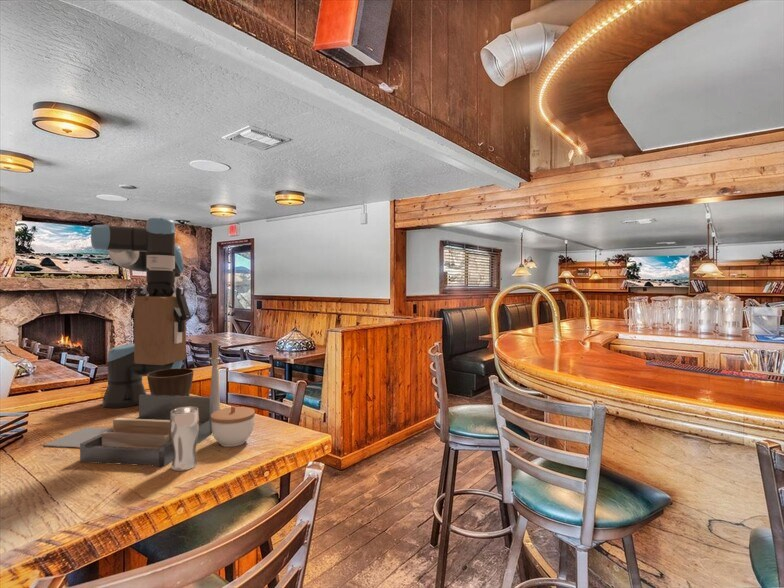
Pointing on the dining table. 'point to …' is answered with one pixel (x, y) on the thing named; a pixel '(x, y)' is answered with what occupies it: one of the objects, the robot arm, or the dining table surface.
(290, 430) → the dining table surface
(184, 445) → the beer glass
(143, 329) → the wooden block
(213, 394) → the candlestick
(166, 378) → the plant pot
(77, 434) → the mat
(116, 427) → the offcut stack
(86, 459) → the rack
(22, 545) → the dining table surface
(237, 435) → the lidded bowl
